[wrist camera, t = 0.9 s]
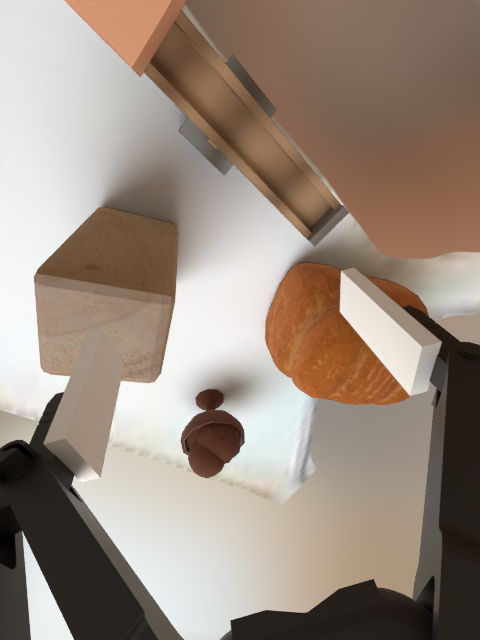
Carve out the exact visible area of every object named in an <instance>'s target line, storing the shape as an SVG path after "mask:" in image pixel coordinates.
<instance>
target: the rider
mask: <svg viewBox="0 0 480 640" xmlns="http://www.w3.org/2000/svg"><path fill="white" fill-rule="evenodd" d="M65 1H66V2H67V3H68V4H69V6H70V7H71V8H72V9H73V10H74V11H75V12H76V13H77V14H78V15H79V16H80V17H81V18H82V19H83V20H84V21H85V22H86V23H87V24H88V25H89V26H90V27H91V28H92V29H93V30H94V31H95V32H96V33H97V34H98V35H99V36H100V37H101V38H102V39H103V40H104V41H105V42H106V43H107V44H108V45H109V46H110V47H111V48H112V49H113V50H114V51H115V52H116V53H117V54H118V55H119V56H120V57H121V58H122V59H123V60H124V61H125V62H126V63H127V64H128V65H129V66H130V67H131V68H132V69H133V70H134V71H135V72H136V73H137V74H138V75H139V76H140V77H141V75H142V74H143V72H144V70H145V69H146V67H147V65H148V64H149V62H150V61H151V59H152V57H153V56H154V54H155V52H156V51H157V49H158V48H159V46H160V44H161V43H162V41H163V39H164V38H165V36H166V34H167V33H168V31H169V30H170V28H171V26H172V25H173V23H174V21H175V20H176V18H177V16H178V15H179V13H180V12H181V10H182V8H183V7H184V5H185V3H186V0H65Z"/></svg>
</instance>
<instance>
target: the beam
mask: <svg viewBox="0 0 480 640" xmlns="http://www.w3.org/2000/svg"><path fill="white" fill-rule="evenodd" d="M144 73H145V74H146V75H147V76H148V77H149V78H150V79H151V80H152V81H153V82H154V83H155V84H156V85H157V86H158V87H159V88H160V89H161V90H162V91H163V92H164V93H165V94H166V96H167V97H168V98H169V99H170V100H171V101H172V102H173V103H174V104H175V105H176V106H177V107H178V108H179V109H180V110H181V111H182V112H183V113H184V114H185V115H186V116H187V117H188V118H187V120H186V121H185V123H184V124H183V126H182V127H181V128H180V130H179V132H180V133H181V134H182V135H183V136H184V137H185V138H186V139H187V140H188V141H189V142H190V143H191V144H193V145H194V146H195V147H196V148H197V149H198V150H199V151H200V152H201V153H202V154H203V155H204V156H205V157H206V158H207V159H208V160H209V161H210V162H211V163H212V164H213V165H214V166H215V167H216V168H217V169H218V170H219V171H220V172H221V173H222V174H223V175H225V174H226V173H227V171H228V170H229V169H230V168H231V166H232V165H233V164H234V165H235V166H236V167H237V168H238V169H239V170H240V171H241V172H242V173H243V174H244V175H245V176H246V177H247V178H248V179H249V180H250V182H251V183H252V184H253V185H254V186H255V187H256V188H257V189H258V190H259V191H260V192H261V193H262V194H263V195H264V196H265V197H266V198H267V199H268V200H269V201H270V202H271V203H272V204H273V205H274V206H275V207H276V208H277V209H278V210H279V211H280V212H281V213H282V214H283V215H284V216H285V217H286V218H287V219H288V220H289V221H290V222H291V223H292V225H293V226H294V227H295V228H296V229H297V230H298V231H299V232H300V233H301V234H302V235H303V236H304V237H305V238H306V239H307V240H308V241H310V242H311V243H312V244H313V245H314V246H316V245H317V244H318V243H319V242H320V241H321V240H322V239H323V238H324V237H325V236H326V235H327V234H328V233H329V232H330V231H331V230H332V229H333V228H334V227H335V226H336V225H337V224H338V223H339V222H340V221H341V220H342V219H343V218H344V217H345V216H346V215H347V214H348V213H349V212H348V211H347V209H346V208H345V207H344V206H343V205H341V204H340V203H339V202H338V201H337V199H336V198H335V197H334V196H333V194H332V193H331V192H330V191H329V190H328V188H327V187H326V186H325V185H324V183H323V182H322V181H321V180H320V179H319V177H318V176H317V175H316V174H315V172H314V171H313V170H312V169H311V168H310V166H309V165H308V164H307V163H306V162H305V160H304V159H303V158H302V157H301V155H300V154H299V153H298V152H297V151H296V149H295V148H294V147H293V146H292V144H291V143H290V142H289V141H288V140H287V138H286V137H285V136H284V135H283V133H282V132H281V131H280V130H279V129H278V127H277V126H276V125H275V124H274V123H273V121H272V120H271V119H270V117H271V116H272V115H273V114H274V112H275V111H276V108H275V107H274V106H273V105H272V103H271V102H270V101H269V100H268V99H267V97H266V96H265V95H264V93H263V92H262V91H261V90H260V88H259V87H258V86H257V85H256V83H255V82H254V81H253V79H252V78H251V77H250V76H249V74H248V73H247V72H246V71H245V69H244V68H243V67H242V66H241V64H240V63H239V62H238V61H237V59H236V58H235V57H234V56H233V55H232V56H231V57H230V59H229V60H228V61H227V63H226V64H225V63H224V62H223V60H222V59H221V58H220V57H219V55H218V54H217V53H216V52H215V51H214V49H213V48H212V47H211V46H210V45H209V43H208V42H207V41H206V40H205V38H204V37H203V36H202V35H201V34H200V32H199V31H198V30H197V29H196V27H195V26H194V25H193V24H192V23H191V21H190V20H189V19H188V18H187V16H186V15H185V14H184V13H183V12H182V10H181V12H180V13H179V15H178V16H177V18H176V20H175V21H174V23H173V25H172V26H171V28H170V30H169V31H168V33H167V34H166V36H165V38H164V39H163V41H162V43H161V44H160V46H159V48H158V49H157V51H156V52H155V54H154V56H153V57H152V59H151V61H150V62H149V64H148V65H147V67H146V69H145V70H144Z"/></svg>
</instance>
